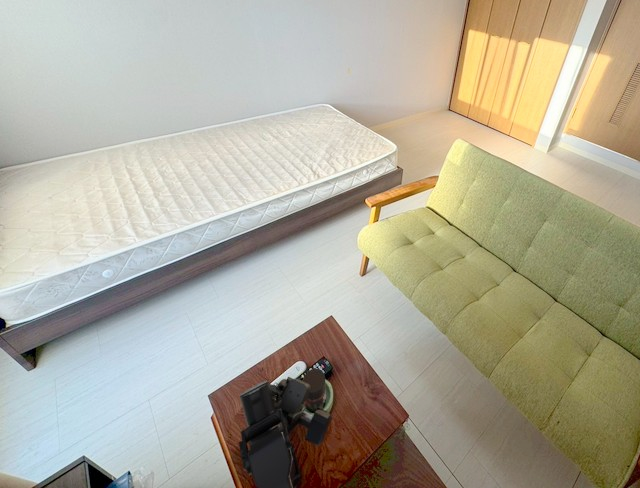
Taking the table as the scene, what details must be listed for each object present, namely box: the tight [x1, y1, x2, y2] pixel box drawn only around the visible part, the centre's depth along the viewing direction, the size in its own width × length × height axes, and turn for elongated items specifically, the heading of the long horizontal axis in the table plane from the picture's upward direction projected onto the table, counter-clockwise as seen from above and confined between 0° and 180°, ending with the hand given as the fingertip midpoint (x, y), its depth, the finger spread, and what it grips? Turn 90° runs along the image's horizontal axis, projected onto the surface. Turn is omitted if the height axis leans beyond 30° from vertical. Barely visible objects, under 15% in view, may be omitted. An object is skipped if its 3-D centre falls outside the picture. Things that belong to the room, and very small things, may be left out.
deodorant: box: [302, 368, 326, 413], centre depth 86 cm, size 6×6×15 cm
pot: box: [303, 379, 334, 416], centre depth 90 cm, size 10×10×4 cm
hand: (307, 397), depth 80 cm, fingers open, 9 cm apart
